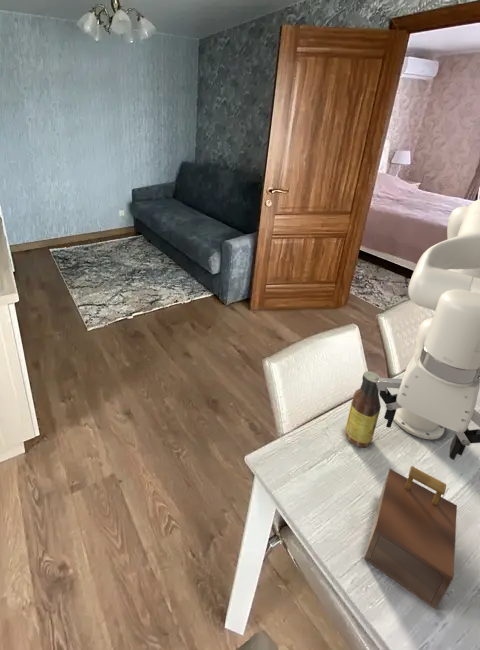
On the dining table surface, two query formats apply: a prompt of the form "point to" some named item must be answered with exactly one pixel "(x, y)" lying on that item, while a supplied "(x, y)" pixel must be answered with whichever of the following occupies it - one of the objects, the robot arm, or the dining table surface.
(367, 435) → the sauce bottle
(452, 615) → the dining table surface
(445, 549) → the box lid
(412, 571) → the storage box
